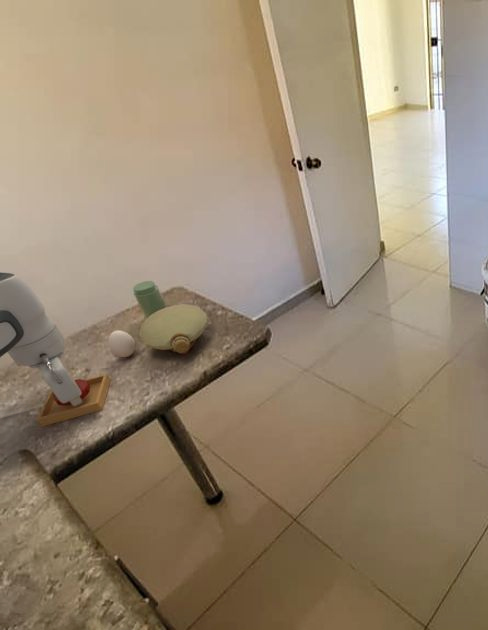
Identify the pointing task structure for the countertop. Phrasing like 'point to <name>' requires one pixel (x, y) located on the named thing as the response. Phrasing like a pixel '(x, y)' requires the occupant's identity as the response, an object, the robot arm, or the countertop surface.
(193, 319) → the flask
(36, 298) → the robot arm
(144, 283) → the jar
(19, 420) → the countertop surface
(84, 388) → the lid
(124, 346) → the egg
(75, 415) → the tray
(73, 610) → the countertop surface
